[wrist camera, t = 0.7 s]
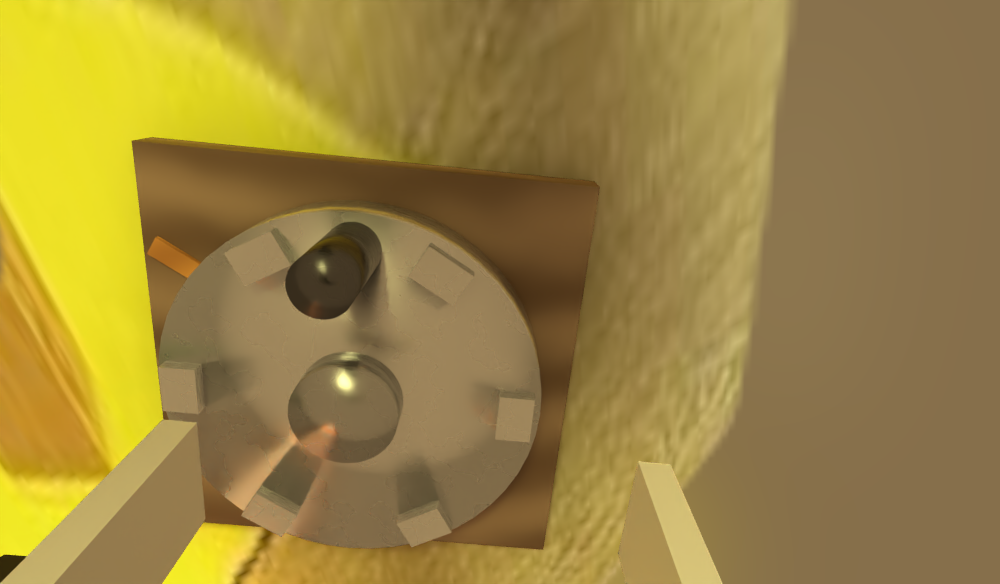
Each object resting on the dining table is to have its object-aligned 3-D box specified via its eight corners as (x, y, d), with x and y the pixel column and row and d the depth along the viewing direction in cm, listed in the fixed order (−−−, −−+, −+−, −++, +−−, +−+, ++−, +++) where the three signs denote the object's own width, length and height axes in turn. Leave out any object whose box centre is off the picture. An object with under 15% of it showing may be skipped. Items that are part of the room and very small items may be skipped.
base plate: (152, 137, 34) (128, 141, 32) (594, 181, 35) (600, 188, 33) (189, 500, 43) (172, 522, 41) (541, 529, 44) (543, 552, 42)
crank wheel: (518, 528, 41) (522, 645, 32) (199, 502, 40) (118, 614, 32) (560, 219, 33) (580, 267, 25) (169, 181, 33) (52, 217, 24)
